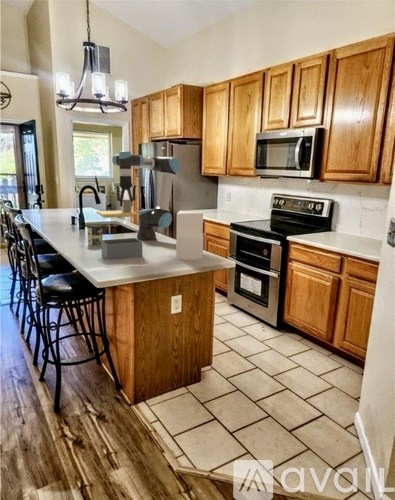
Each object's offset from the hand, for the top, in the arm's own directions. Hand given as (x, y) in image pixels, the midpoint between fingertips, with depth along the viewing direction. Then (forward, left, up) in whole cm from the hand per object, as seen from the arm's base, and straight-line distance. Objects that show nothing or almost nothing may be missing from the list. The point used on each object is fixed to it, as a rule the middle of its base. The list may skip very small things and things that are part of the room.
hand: (126, 211), depth 236 cm
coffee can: (+17, -21, -26) cm, 38 cm away
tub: (+9, +18, -26) cm, 33 cm away
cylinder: (-31, +33, -26) cm, 53 cm away
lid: (+7, 0, -3) cm, 7 cm away
